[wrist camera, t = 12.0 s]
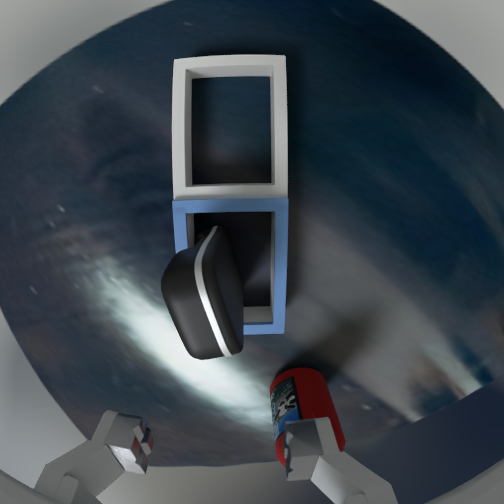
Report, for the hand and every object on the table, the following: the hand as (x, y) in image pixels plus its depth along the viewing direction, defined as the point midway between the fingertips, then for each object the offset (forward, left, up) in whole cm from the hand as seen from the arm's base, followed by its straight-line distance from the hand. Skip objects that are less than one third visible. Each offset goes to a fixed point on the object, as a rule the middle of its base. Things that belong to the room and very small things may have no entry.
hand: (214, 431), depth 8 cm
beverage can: (-7, +16, -19) cm, 26 cm away
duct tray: (0, -6, -19) cm, 20 cm away
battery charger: (+2, 0, -19) cm, 19 cm away
